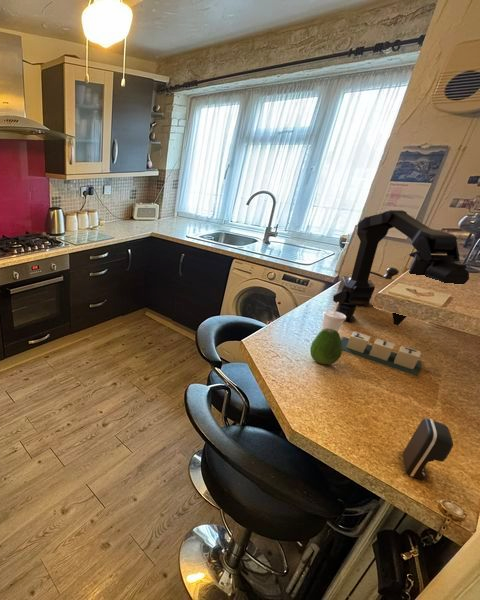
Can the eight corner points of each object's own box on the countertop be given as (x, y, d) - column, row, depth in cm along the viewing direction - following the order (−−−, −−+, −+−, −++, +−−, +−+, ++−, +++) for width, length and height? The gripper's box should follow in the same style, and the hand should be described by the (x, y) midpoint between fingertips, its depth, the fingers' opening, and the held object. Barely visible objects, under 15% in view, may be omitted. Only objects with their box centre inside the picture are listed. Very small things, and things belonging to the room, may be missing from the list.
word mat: (343, 337, 115) (343, 336, 114) (420, 362, 101) (421, 361, 101) (335, 349, 108) (335, 348, 108) (416, 377, 94) (417, 376, 94)
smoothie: (330, 334, 117) (343, 299, 111) (341, 343, 111) (355, 307, 105) (311, 333, 117) (323, 298, 112) (321, 342, 112) (335, 306, 106)
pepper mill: (338, 302, 141) (352, 263, 133) (335, 294, 150) (348, 257, 142) (383, 310, 134) (401, 270, 126) (378, 301, 142) (394, 262, 135)
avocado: (303, 353, 106) (314, 321, 101) (331, 358, 103) (344, 326, 98) (309, 367, 99) (321, 334, 94) (340, 372, 96) (354, 339, 91)
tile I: (371, 349, 107) (376, 337, 105) (389, 355, 104) (395, 343, 102) (368, 354, 104) (374, 342, 102) (387, 361, 101) (392, 348, 99)
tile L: (349, 342, 111) (354, 331, 109) (365, 347, 108) (370, 336, 106) (346, 347, 108) (350, 335, 106) (362, 353, 105) (368, 340, 103)
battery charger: (430, 486, 64) (459, 445, 59) (404, 475, 66) (430, 435, 61) (425, 461, 69) (451, 422, 64) (401, 452, 71) (424, 413, 66)
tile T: (395, 357, 103) (401, 345, 101) (414, 363, 100) (421, 351, 98) (393, 363, 100) (399, 350, 98) (413, 369, 97) (419, 356, 95)
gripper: (458, 292, 85) (430, 341, 92) (460, 274, 96) (435, 319, 103) (402, 280, 93) (380, 326, 100) (410, 265, 104) (390, 307, 111)
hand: (398, 320), depth 103 cm, fingers open, 9 cm apart
